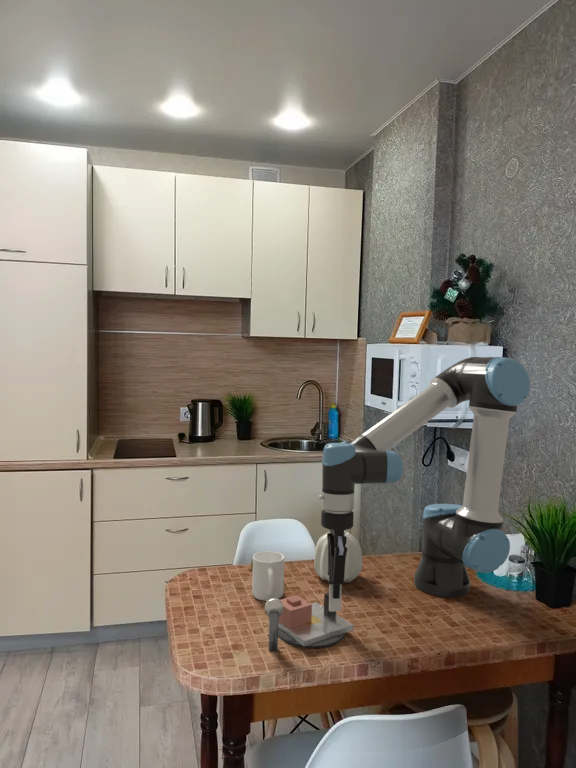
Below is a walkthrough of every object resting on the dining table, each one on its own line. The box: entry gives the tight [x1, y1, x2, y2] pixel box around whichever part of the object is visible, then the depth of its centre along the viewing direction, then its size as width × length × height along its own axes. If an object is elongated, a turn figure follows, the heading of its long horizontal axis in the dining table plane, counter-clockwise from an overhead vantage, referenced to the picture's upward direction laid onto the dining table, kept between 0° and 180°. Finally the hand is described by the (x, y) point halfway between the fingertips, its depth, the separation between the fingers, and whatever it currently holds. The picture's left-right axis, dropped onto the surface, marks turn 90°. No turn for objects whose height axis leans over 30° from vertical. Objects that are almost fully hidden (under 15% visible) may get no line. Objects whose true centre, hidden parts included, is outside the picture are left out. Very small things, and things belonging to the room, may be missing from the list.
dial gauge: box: [264, 598, 283, 652], centre depth 123 cm, size 4×3×11 cm, turn 94°
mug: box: [251, 551, 285, 602], centre depth 149 cm, size 12×8×10 cm
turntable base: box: [278, 628, 346, 649], centre depth 132 cm, size 16×16×1 cm
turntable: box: [278, 591, 354, 646], centre depth 131 cm, size 14×14×6 cm
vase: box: [313, 530, 363, 583], centre depth 163 cm, size 14×14×13 cm
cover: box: [279, 594, 312, 628], centre depth 131 cm, size 6×6×5 cm
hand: (334, 610), depth 133 cm, fingers closed
